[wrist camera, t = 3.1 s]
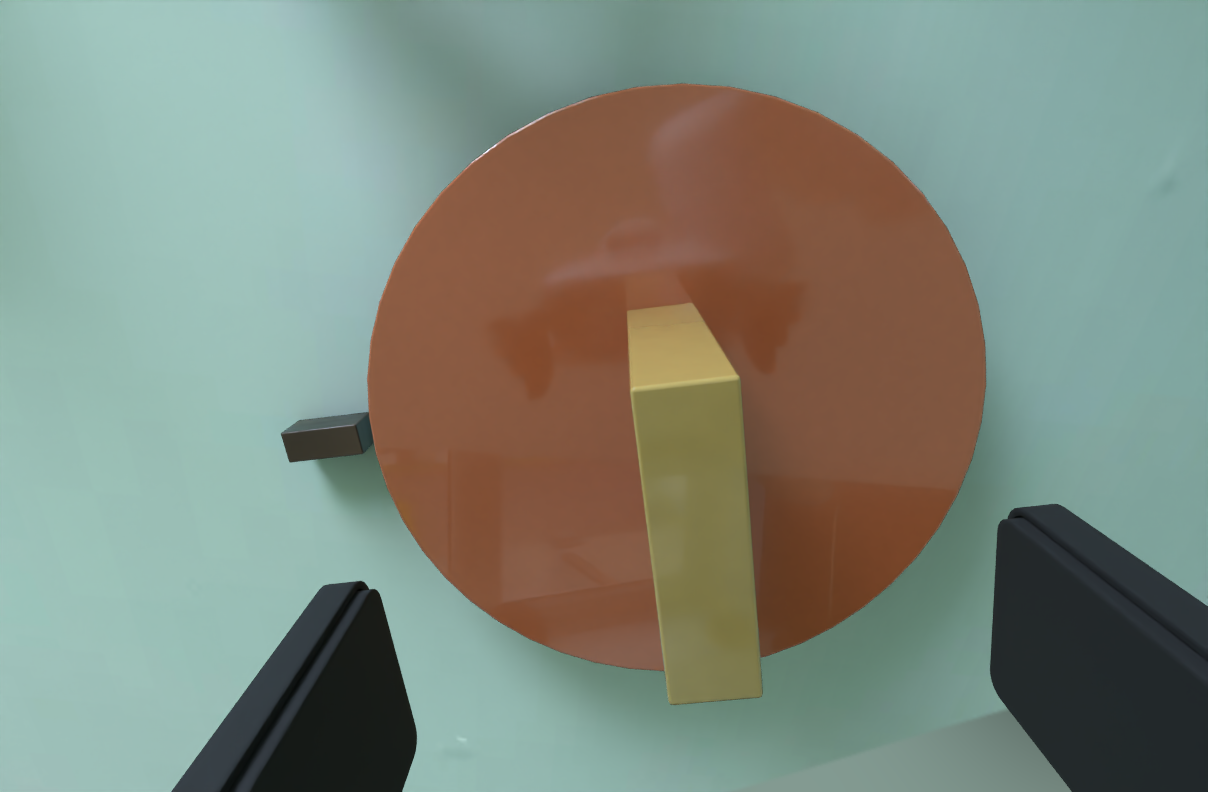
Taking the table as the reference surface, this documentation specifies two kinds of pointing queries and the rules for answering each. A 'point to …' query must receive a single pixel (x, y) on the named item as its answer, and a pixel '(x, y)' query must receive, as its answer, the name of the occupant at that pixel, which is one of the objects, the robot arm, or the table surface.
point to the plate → (767, 298)
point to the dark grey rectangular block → (328, 437)
